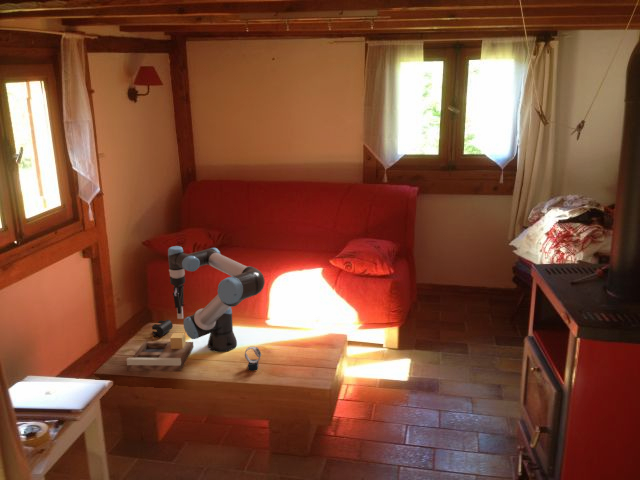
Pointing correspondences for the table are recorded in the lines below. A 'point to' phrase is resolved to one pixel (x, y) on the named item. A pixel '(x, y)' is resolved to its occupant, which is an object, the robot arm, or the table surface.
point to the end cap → (162, 328)
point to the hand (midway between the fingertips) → (180, 318)
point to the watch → (253, 363)
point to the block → (177, 340)
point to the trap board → (159, 357)
